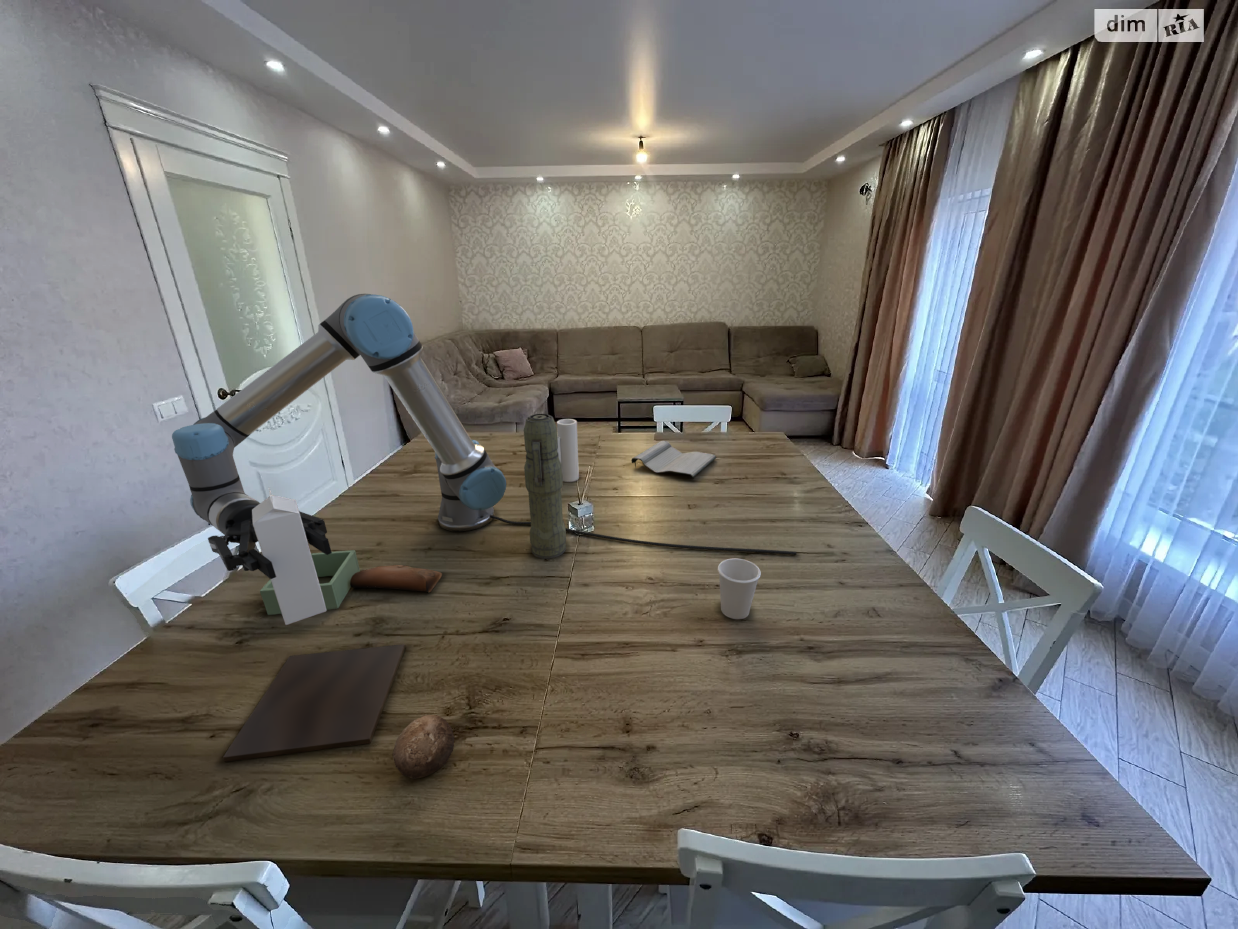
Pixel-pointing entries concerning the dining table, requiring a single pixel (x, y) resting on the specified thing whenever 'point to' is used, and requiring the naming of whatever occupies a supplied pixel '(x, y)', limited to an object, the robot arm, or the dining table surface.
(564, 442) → the vase
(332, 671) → the board
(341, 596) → the basket
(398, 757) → the brown potato
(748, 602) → the dixie cup
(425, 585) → the sunglasses case
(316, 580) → the milk
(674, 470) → the mat
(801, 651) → the dining table surface
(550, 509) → the thermos
